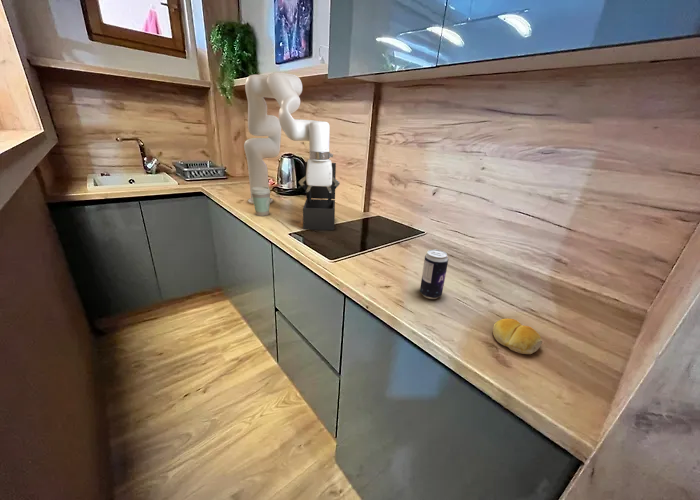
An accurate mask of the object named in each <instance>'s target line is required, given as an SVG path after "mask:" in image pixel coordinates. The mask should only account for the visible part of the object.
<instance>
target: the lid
mask: <svg viewBox="0 0 700 500" xmlns="http://www.w3.org/2000/svg"><path fill="white" fill-rule="evenodd" d="M307 162H308V161H304V168H305V169H304V172H305V174H304V175H305V176H306V171H307ZM336 169H337V162H332V176H333V177H334V178H335V179H336V178H337V177H336V175H337V174H336V173H337V170H336ZM305 176H304V177H305ZM305 185H306V186H307V187H308V186H309V185H307V183H306V182H305ZM334 185H335V183H334V182H333V181H332V185H331V188H332V187H333V186H334ZM310 191H311V199H323V200H328V189H327V187H322V186H312V187H311V189H310ZM305 198H306V199H307V192H306V191H305ZM331 200H336V189H335V190H334V191H333V192H332V193H331Z"/></svg>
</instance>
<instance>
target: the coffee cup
mask: <svg viewBox="0 0 700 500" xmlns="http://www.w3.org/2000/svg"><path fill="white" fill-rule="evenodd" d="M251 193H252V197H253V202H254V204H253V206H254V207H253V208H254V209H255V210H254V211H255V215H256V216H260V217H265V216H269V215H270V204H271V203H270V198H271V188H270V186H269V187H253V188H252V191H251Z"/></svg>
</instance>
